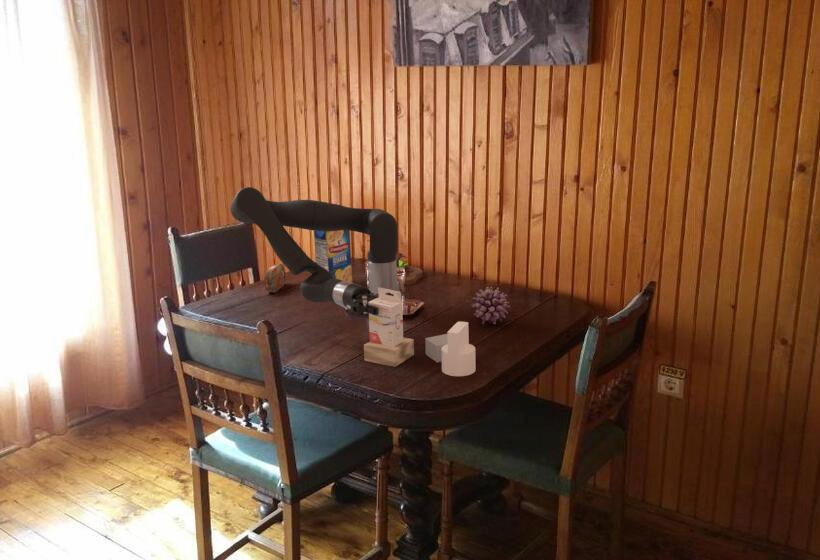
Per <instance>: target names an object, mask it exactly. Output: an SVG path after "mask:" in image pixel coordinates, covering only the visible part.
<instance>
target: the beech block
mask: <svg viewBox="0 0 820 560" xmlns="http://www.w3.org/2000/svg"><path fill="white" fill-rule="evenodd" d="M414 341H415V340H414V338H408V337H404V336H403V342H402V343H400V344H398V345H396V346H395V347H391V346H387V345H383V344H379V343H375V342H372V341H370V340H369V341H368V342H366V343H365V344H363V355H364V356H363V357H364V358H363V359H364V361H365V362H370V363H374V364H378V365H384V366H389V367H394V368H395V367H397V366H399V365H400V364H402V363H404V362H405V361H406V360H408V359H410V358H411V357H412V356H414V355H415V346H414V345H415V342H414Z"/></svg>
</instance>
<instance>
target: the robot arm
mask: <svg viewBox="0 0 820 560" xmlns="http://www.w3.org/2000/svg"><path fill="white" fill-rule="evenodd" d="M229 208H230V209H229V210H230V214H231V216H232V217H233V218H234V219H235V220H236V221H238V222H239V223H243V224H250V225H251V224H253V225H256V226H257V227H258V228H259V230H261V232H262V233H263V235H264V236H265V237H266V239H267V241H268V243H269V245H270V247H271V249H272V250H273V252H274V253H275V256H277V258H278V259H279V260H280V261H281V263H282V265H283V266H285V267H286V269H288V271H289V272H290V273H291V274H292V275H294V276H298V275H301V274H302V273H304V272H308V273H309V274H311V275H309V276H308V277H307V278H306V279H305V280H304V281H302V282H301V284H300V286H299V291H300V294H301V296H302V297H303V298H305V300H307V301H309V302H311V303H332V304H336V305H338V306H340V307H342V308H346V311H348V312H351V313H352V314H356V315H358V316H360V315H362V313H363V314H368V315H369V314H372V315H375V316H376V315H378V308H377V307H375V306H372V305H368V302H369V301H372V300H374V299H376V298H379V295H378V288H384V289H389V290H394V291H399V292H401V291H400V290H401V289H400V286H401V285H399V281H397V268H396V258H397V255H398V254H397V253H398V249H399V246H398V245H399V241H398V240H399V237H398V236H399V231H398V229H399V228H398V222H397V220H396V218H395V216H393V214H391V213H389V212H388V211H386V210H384V209H381V208H359V207H358V208H357V207H349V206H345V205H342V204H336V203H332V202H326V201H321V200H316V199H315V200H313V199H295V200H288V201H287V200H286V201H274V200H273V201H272V200H267V199H266V197H265V196H264V195H263V194H262V192H261V191H260V190H258V188H255V187H251V186H246V187H245V186H244V187H242V188H241V189H239V190H238V191H237V193H236V194H235V196H234V198H233V199H232V201H231V203H230V207H229ZM285 227H289V228H294V229H297V228H298V229H303V230H309V231H313V232H314V231H324V232H328V231H340V230H350V232H357V233H361V234H365V235H368V236H369V250H368V252H367V273H368V274H367V276H368V280H369V282H368V287H367V286H365V285H362V284H358V283H355V282H353V281H352V282H346V281H342V280H339V279H334V278H333V276H332V275H331V273H330V272H329V271H327V270H326V269H324V268H323V267H321V266H320V265H318V264H317V263H316V261H314V260H313V259H312V258H311V257H309V256H308V254H307V253H306V252H305V251H304V250H303V249H302V247H301V246H300V245H299V244H298V243H297V242H296V241H295V240H294V239H293V238H294V237H292V236H291V235H290V233H289V232H288V231H287V230H286V228H285ZM386 295H390V296H394V295H393V294H391V293H386Z"/></svg>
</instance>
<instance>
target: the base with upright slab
mask: <svg viewBox="0 0 820 560" xmlns="http://www.w3.org/2000/svg"><path fill="white" fill-rule="evenodd" d="M469 333H470V331H469V322H467V321H457V322H456V323H454V325H453V326H452V327H451V328H450V329H449V330H448V331H447V333H446V334H448V344H446V345H444V346H443V347H442V348H441V352H442V362H441V372H442V373H443V374H445V375H448V376H451V377H465V376H470V375H472V374H474V373H475V372H476V367H477V366H476V365H477V364H476V347H475V346H474V345H473V344H471V343H469V342H470V339H469Z"/></svg>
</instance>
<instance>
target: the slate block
mask: <svg viewBox="0 0 820 560" xmlns="http://www.w3.org/2000/svg"><path fill="white" fill-rule="evenodd" d="M424 339H425V341H424V342H425V343H424V344H425V355H426V356H427V357H429V358H430V359H431V360H433V361H435V362H436V363H442V352H441V348H442V347H443V346H444V345H446V344H448V334H447V333H444V334H439V335H434V336H430V337H425V338H424Z"/></svg>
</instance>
